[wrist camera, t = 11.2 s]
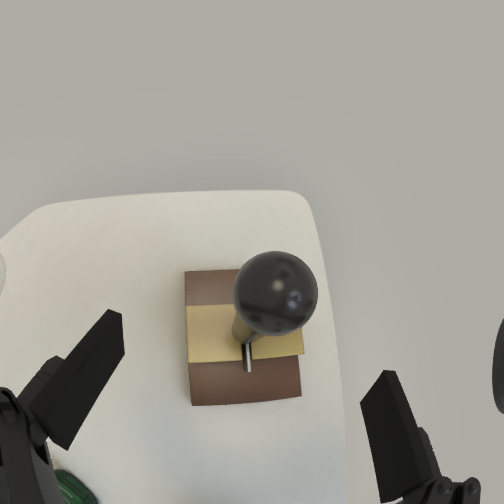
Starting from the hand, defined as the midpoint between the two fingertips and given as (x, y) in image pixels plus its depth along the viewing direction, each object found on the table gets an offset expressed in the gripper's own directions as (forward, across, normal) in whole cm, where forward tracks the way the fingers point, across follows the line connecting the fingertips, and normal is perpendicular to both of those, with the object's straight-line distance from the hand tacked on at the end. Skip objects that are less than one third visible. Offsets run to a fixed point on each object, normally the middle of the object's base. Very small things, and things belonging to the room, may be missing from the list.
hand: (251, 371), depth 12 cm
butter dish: (+13, 0, -9) cm, 16 cm away
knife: (+12, 0, -8) cm, 15 cm away
